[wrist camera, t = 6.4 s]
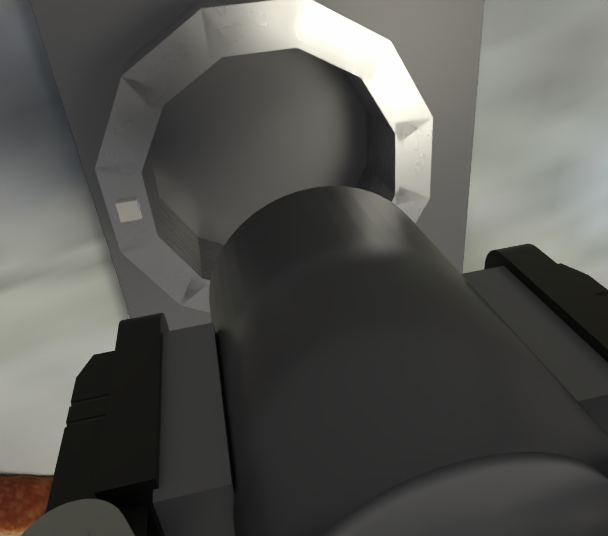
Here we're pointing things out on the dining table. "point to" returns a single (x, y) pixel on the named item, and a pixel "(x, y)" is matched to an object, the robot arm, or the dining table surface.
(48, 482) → the slice of bread
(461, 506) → the domed grey cylinder
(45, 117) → the dining table surface
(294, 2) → the grey thick ring
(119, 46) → the camera plate
